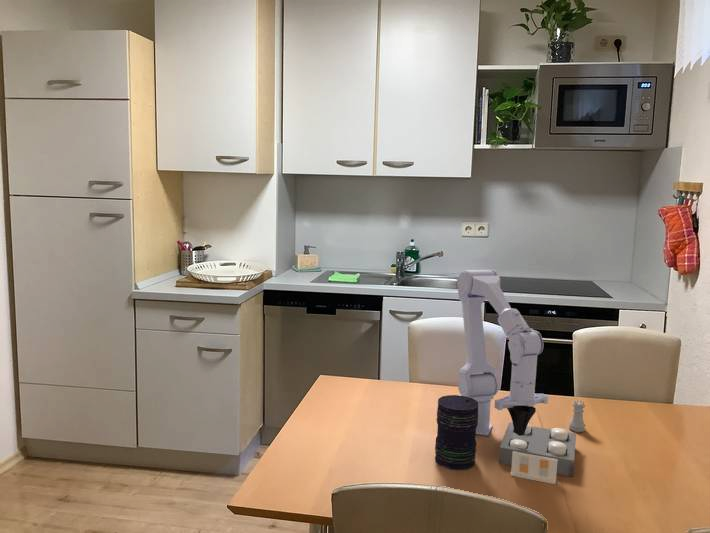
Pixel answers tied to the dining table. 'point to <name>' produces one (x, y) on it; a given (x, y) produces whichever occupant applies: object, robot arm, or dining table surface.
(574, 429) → the rook chess piece
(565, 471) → the button board
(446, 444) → the storage jar
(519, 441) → the button front left
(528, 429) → the button back left
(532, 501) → the dining table surface
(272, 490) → the dining table surface
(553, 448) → the button front right
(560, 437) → the button back right
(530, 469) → the pattern card
